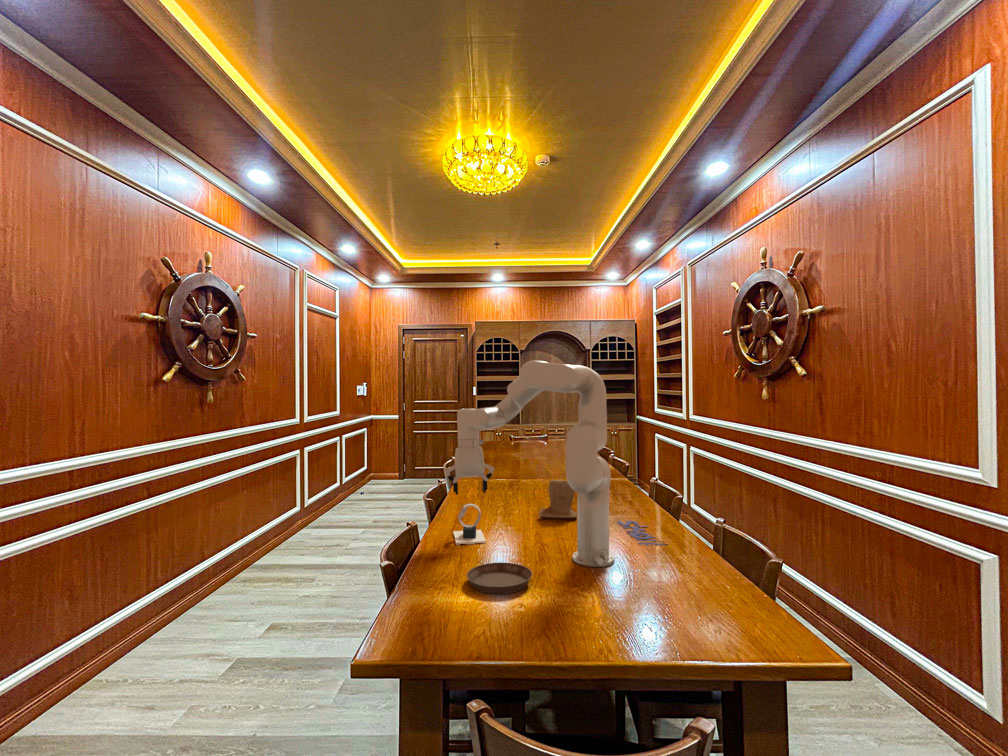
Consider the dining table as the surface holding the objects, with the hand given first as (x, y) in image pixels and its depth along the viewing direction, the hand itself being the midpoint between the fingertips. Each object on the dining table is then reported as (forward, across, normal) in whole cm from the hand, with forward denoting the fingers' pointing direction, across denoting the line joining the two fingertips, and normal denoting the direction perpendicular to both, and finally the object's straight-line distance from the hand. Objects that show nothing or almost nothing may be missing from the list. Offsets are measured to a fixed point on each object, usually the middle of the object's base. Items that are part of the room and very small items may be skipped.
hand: (470, 493), depth 176 cm
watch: (+15, +1, -1) cm, 15 cm away
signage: (+18, -60, +4) cm, 63 cm away
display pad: (+16, +1, -1) cm, 16 cm away
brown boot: (+17, -37, -21) cm, 46 cm away
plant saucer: (+17, -3, +40) cm, 43 cm away
